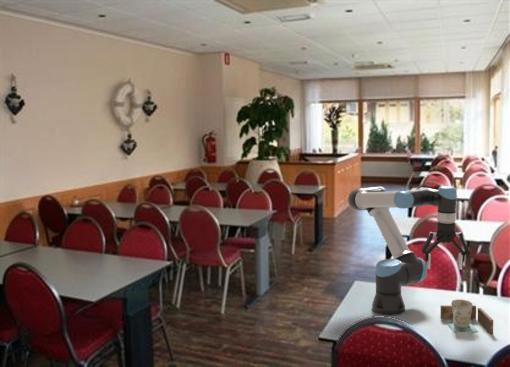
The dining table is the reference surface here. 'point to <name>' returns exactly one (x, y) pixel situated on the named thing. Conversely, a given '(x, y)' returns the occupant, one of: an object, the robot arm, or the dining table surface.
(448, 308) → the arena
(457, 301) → the mug
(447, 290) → the dining table surface
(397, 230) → the robot arm
